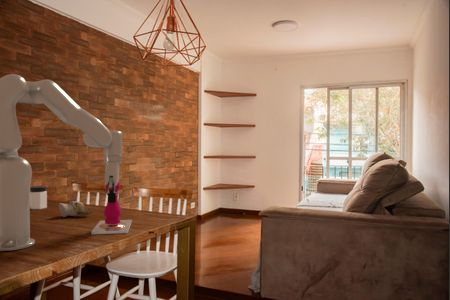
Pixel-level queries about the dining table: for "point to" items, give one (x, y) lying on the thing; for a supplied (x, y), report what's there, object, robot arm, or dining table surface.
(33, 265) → the dining table surface
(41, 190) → the jar
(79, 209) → the ceramic sculpture
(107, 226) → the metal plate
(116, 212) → the pepper mill
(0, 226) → the robot arm
